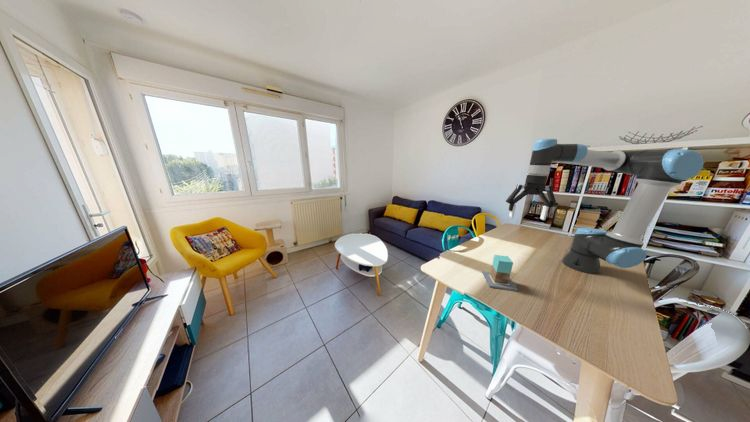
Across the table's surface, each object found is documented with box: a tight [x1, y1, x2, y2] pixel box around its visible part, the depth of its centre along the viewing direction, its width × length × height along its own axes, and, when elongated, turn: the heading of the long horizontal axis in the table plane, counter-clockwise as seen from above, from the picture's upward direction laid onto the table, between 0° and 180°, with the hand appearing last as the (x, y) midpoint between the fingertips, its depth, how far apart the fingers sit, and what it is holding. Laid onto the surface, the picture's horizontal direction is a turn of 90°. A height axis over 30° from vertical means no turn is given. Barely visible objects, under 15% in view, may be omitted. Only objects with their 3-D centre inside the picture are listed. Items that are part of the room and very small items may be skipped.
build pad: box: [481, 270, 519, 292], centre depth 96 cm, size 12×12×1 cm
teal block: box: [491, 254, 514, 275], centre depth 94 cm, size 6×6×6 cm
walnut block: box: [490, 265, 511, 284], centre depth 95 cm, size 6×6×6 cm
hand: (526, 218), depth 94 cm, fingers open, 13 cm apart
